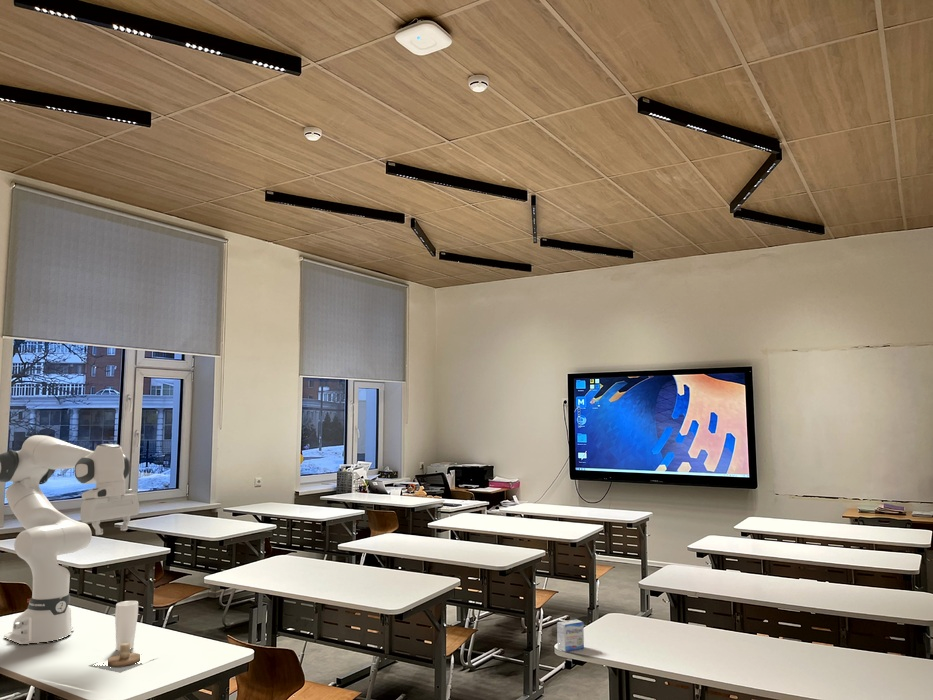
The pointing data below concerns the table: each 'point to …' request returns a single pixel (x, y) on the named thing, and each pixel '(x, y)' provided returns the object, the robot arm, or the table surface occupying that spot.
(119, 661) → the lid
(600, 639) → the table surface
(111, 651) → the table surface
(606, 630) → the table surface
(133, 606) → the drinking glass
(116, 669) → the mat
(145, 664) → the table surface
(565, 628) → the medicine box
